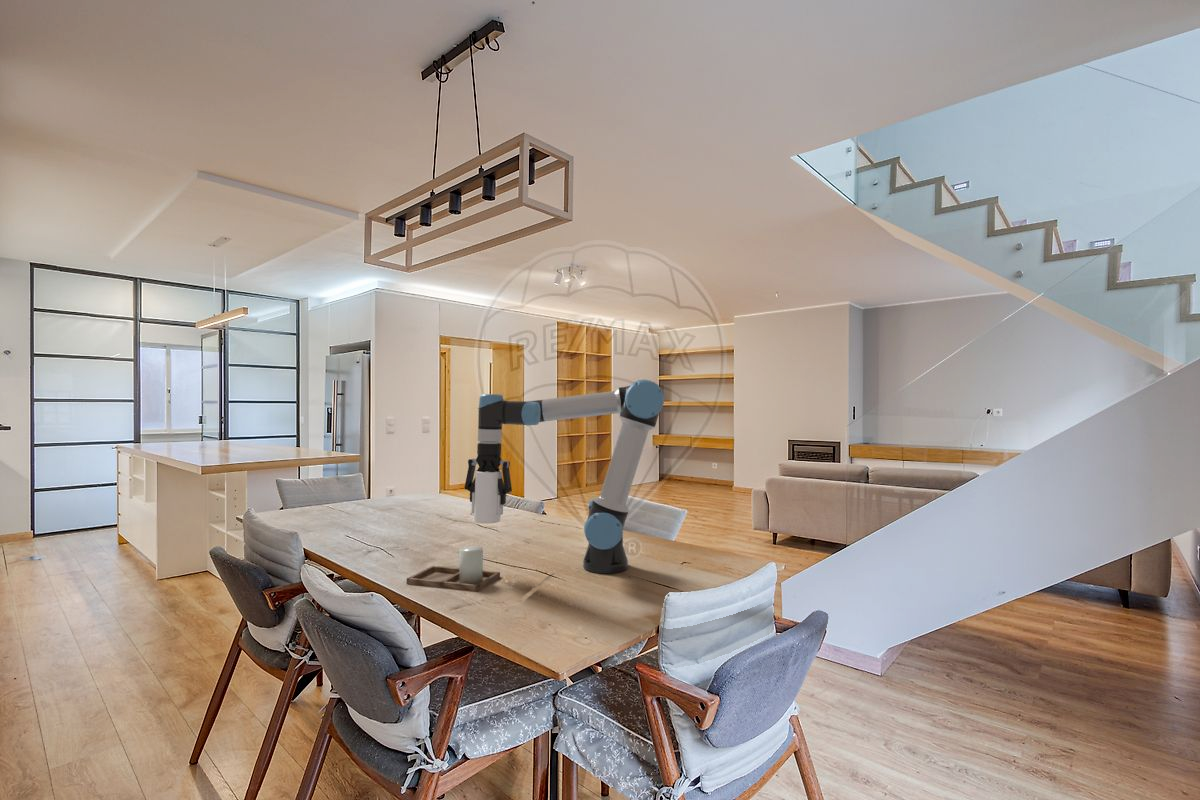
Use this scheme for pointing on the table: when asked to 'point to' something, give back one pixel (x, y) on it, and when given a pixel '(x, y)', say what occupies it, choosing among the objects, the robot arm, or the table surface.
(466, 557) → the pale green rounded cylinder
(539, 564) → the table surface
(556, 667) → the table surface
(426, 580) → the caddy
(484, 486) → the cup
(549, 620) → the table surface
